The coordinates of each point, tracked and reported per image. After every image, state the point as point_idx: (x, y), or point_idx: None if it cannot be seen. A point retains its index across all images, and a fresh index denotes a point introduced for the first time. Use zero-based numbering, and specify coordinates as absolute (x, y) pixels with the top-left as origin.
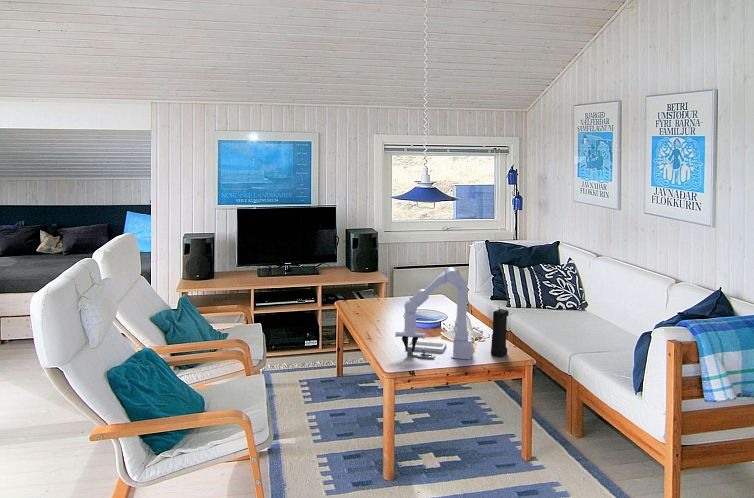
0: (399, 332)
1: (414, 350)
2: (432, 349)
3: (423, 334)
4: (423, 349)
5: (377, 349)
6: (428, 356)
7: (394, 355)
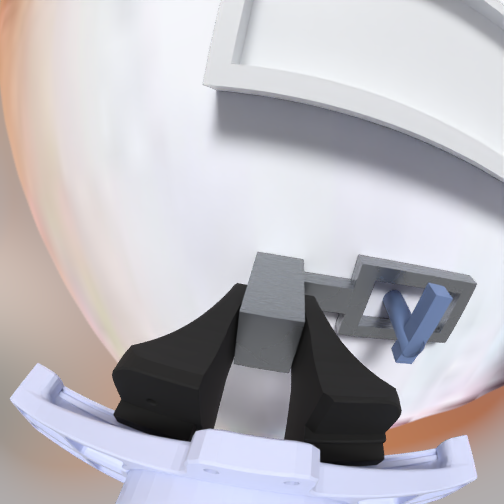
0: (45, 419)
1: (318, 106)
2: (492, 173)
3: (441, 493)
4: (402, 362)
5: (30, 143)
6: None
7: (146, 264)
